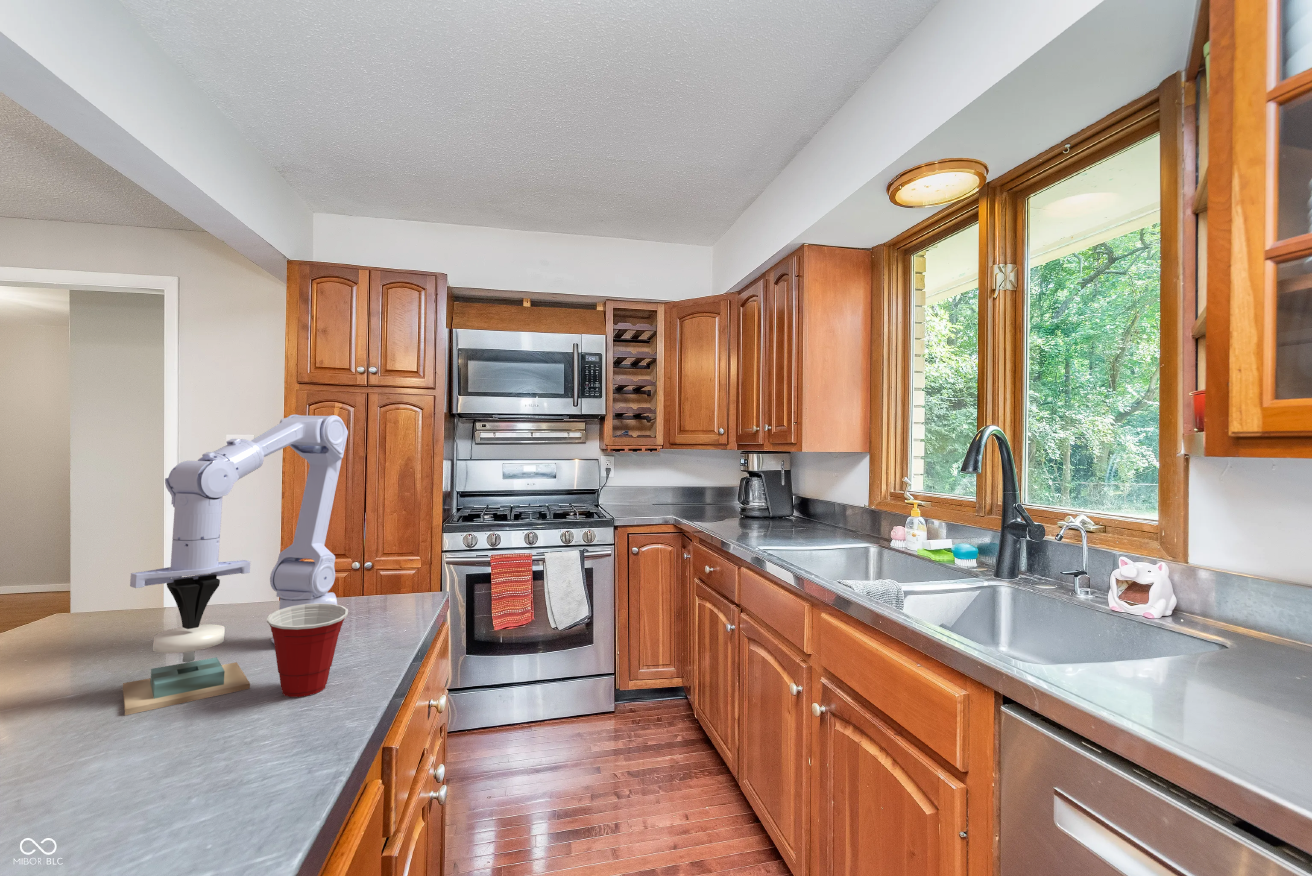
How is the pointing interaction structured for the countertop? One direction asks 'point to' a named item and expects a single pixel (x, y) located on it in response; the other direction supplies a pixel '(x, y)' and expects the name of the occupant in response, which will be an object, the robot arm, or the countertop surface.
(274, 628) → the plastic cup
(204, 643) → the disc
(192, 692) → the dispenser base
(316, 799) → the countertop surface
